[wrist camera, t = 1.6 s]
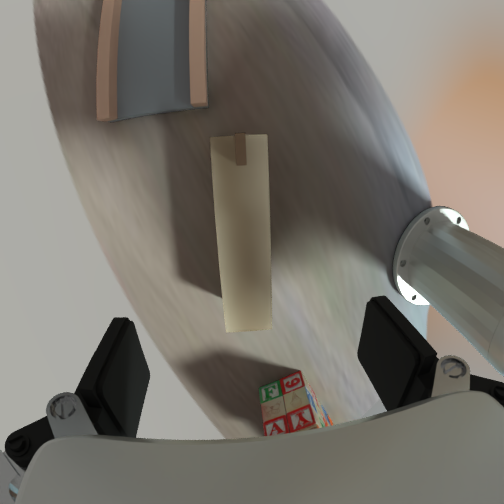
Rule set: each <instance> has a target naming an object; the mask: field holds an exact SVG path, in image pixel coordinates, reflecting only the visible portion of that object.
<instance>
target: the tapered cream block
mask: <svg viewBox="0 0 504 504" xmlns="http://www.w3.org/2000/svg"><path fill="white" fill-rule="evenodd" d="M210 149H211V166H212V181H213V196H214V209H215V222H216V234H217V246H218V257H219V268H220V279H221V289H222V299H223V308H224V318H225V327H226V333H230V332H244V331H257V330H269V329H272V287H271V234H270V197H269V166H268V139H267V134H259V135H245V133H235V135H234V136H219V137H210Z"/></svg>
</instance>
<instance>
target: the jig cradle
mask: <svg viewBox="0 0 504 504" xmlns="http://www.w3.org/2000/svg"><path fill="white" fill-rule="evenodd" d="M201 108H209V104H208V78H207V40H206V0H103V4H102V12H101V20H100V29H99V39H98V53H97V77H96V110H97V120H98V121H105V122H115V121H120V120H125V119H130V118H136V117H141V116H147V115H153V114H160V113H167V112H174V111H182V110H191V109H201Z"/></svg>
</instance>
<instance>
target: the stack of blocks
mask: <svg viewBox="0 0 504 504" xmlns="http://www.w3.org/2000/svg"><path fill="white" fill-rule="evenodd" d="M259 397H260V404H261V409H262V418H263V430H264V436H271V435H279V434H287V433H294V432H300V431H306V430H312V429H317V428H322V427H327V426H332V425H334V424H333V422H332V421H331V419H330V417H329V416H328V414H326V412H325V410H324V409H323V407H322V405H321V404H320V402H319V401H318V399H317V398H316V396H315V393H314V392H313V390H312V388H311V387H310V385H309V384H308V382H307V380H306V378H305V376H304V375H303V373H302V371H298V372H296V373H294V374H291V375H289V376H287V377H284V378H282V379H280V380H278V381H275V382H273V383H270V384H268V385H265V386H263V387H260V388H259Z"/></svg>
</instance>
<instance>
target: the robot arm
mask: <svg viewBox="0 0 504 504" xmlns="http://www.w3.org/2000/svg"><path fill="white" fill-rule="evenodd" d="M393 277H394V282H395V285H396V288H397V289H398V291H399V292H400V294H401V295H402V296H403V297H404V298H405V299H406V300H407V301H409V302H410V303H413V304H416V305H427V304H430V305H431V306H433V307H434V308H435V309H436V310H437V311H438V312H439V313H440V314H441V315H442V316H443V317H444V318H445V319H446V320H447V321H448V322H449V323H451V325H452V326H454V327H455V328H456V329H457V330H458V331H459V332H460V333H461V334H462V335H463V336H464V337H465V338H466V339H467V340H468V341H469V342H470V343H471V345H473V346H474V347H475V349H476V350H477V351H478V352H479V353H480V354H481V355H482V356H483V357H484V358H485V359H486V360H487V361H488V362H489V363H490V364H491V365H492V366H493V367H494V369H495V370H497V372H498V373H500V374H501V375H502V376H504V248H502V247H500V246H498V245H496V244H495V243H493V242H491V241H489V240H486V239H485V238H483V237H481V236H479V235H477V234H475V233H473V232H470V231H469V228H468V225H467V223H466V221H465V219H464V218H463V216H462V215H461V214H459V212H457V211H455V210H454V209H451V208H448V207H445V206H436V207H432V208H429V209H427V210H425V211H423V212H422V213H420V214H419V215H418V216H417V217H415V218H414V220H413V221H412V222H411V223H410V224H409V225H408V227H407V228H406V230H405V231H404V233H403V234H402V236H401V239H400V241H399V243H398V245H397V249H396V252H395V256H394V261H393ZM357 354H358V359H359V361H360V363H361V365H362V366H363V368H364V370H365V372H366V374H367V375H368V377H369V379H370V381H371V383H372V384H373V386H374V388H375V390H376V392H377V393H378V395H379V397H380V399H381V401H382V403H383V404H384V406H385V408H386V410H387V412H383V413H380V414H377V415H373V416H370V417H366V418H362V419H358V420H354V421H350V422H346V423H341V424H337V425H332V426H327V427H322V428H317V429H312V430H306V431H300V432H294V433H287V434H279V435H271V436H262V437H252V438H239V439H221V440H165V439H145V438H136V434H137V430H138V425H139V421H140V416H141V412H142V408H143V404H144V399H145V395H146V391H147V387H148V383H149V380H150V371H149V368H148V365H147V362H146V360H145V357H144V354H143V351H142V348H141V345H140V341H139V338H138V335H137V332H136V329H135V325H134V323H133V321H130V320H129V319H128V318H126V317H123V318H114V319H113V320H112V322H111V324H110V326H109V327H108V329H107V331H106V333H105V334H104V336H103V338H102V340H101V342H100V344H99V346H98V348H97V350H96V351H95V353H94V355H93V357H92V358H91V360H90V362H89V365H88V366H87V368H86V370H85V372H84V374H83V377H82V378H81V381H80V383H79V385H78V387H77V389H76V391H75V393H74V394H73V393H69V392H64V393H60V394H58V395H56V396H54V397H53V398H52V399H51V400H50V401H49V403H48V405H47V408H46V413H47V416H46V417H44V418H42V419H40V420H38V421H35V422H33V423H31V424H29V425H27V426H25V427H23V428H21V429H19V430H17V431H15V432H13V433H11V434H10V435H9V436H8V438H7V440H6V442H5V452H2V451H1V450H0V504H504V383H502V382H499V381H495V380H491V379H487V378H483V377H479V376H475V375H471V374H470V368H469V366H468V364H467V363H466V362H465V361H464V360H463V359H461V358H460V357H457V356H451V355H448V356H444V357H441V358H440V359H438V358H437V357H436V355H437V353H436V351H435V350H434V349H433V348H432V347H431V345H430V344H429V343H428V342H427V341H426V340H425V339H424V337H423V336H422V335H421V334H420V333H419V332H418V331H417V330H416V328H415V327H414V326H413V325H412V324H411V323H410V322H409V321H408V320H407V318H406V317H405V316H404V315H403V314H402V313H401V312H400V311H399V310H398V309H397V308H396V307H395V305H394V304H393V303H392V302H391V301H390V300H389V299H388V298H387V297H386V296H378V297H372V298H371V300H370V301H369V302H367V305H366V311H365V317H364V322H363V327H362V333H361V338H360V342H359V347H358V353H357Z"/></svg>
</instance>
